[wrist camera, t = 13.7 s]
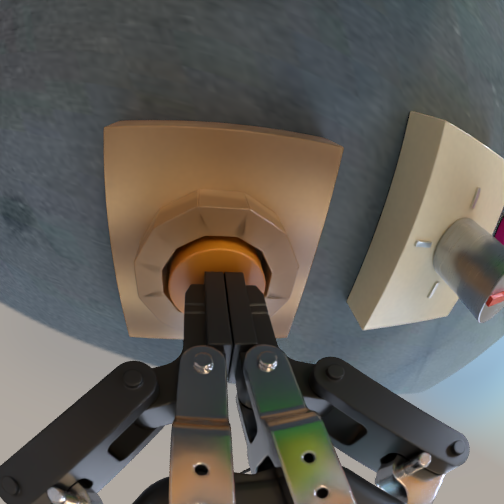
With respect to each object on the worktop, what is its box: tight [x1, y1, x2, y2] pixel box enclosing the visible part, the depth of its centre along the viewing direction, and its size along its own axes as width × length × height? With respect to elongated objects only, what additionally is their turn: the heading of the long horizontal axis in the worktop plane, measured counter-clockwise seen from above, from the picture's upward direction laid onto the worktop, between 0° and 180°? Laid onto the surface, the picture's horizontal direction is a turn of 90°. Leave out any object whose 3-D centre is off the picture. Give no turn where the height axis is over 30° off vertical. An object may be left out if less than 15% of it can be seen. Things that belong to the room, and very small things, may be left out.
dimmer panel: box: [347, 111, 504, 330], centre depth 15 cm, size 14×10×3 cm
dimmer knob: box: [433, 218, 504, 323], centre depth 12 cm, size 4×4×5 cm
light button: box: [168, 236, 266, 314], centre depth 12 cm, size 4×4×2 cm
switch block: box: [104, 120, 344, 339], centre depth 13 cm, size 12×10×4 cm
